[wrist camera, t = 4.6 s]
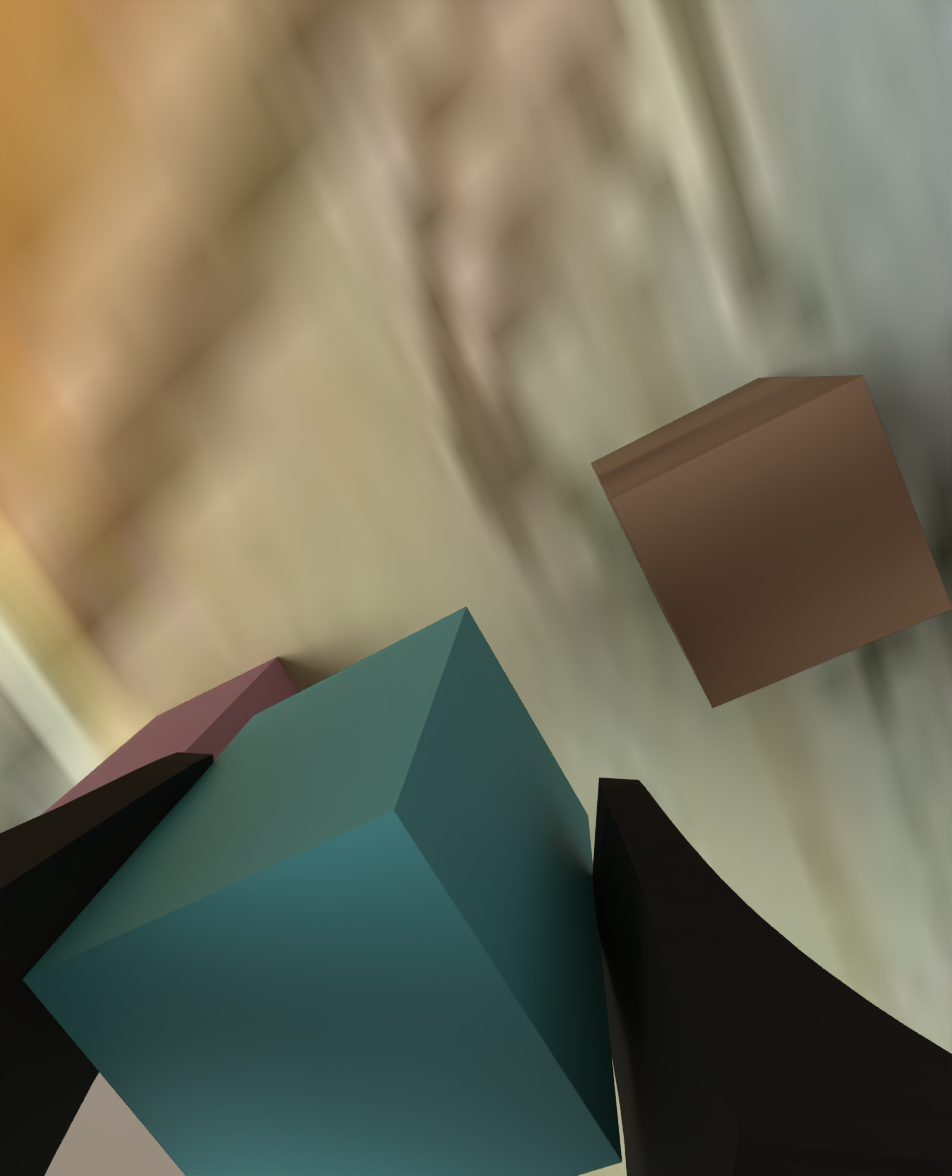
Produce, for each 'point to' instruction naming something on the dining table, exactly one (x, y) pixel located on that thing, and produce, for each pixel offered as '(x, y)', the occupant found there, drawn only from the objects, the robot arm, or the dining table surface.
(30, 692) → the dining table surface
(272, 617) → the dining table surface
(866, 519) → the walnut block
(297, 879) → the teal block
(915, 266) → the dining table surface
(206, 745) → the plum block
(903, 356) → the dining table surface
